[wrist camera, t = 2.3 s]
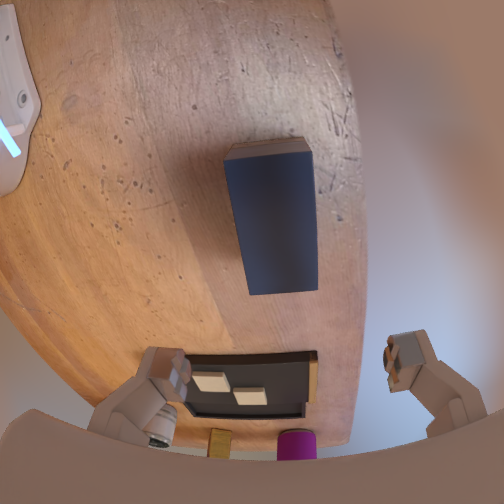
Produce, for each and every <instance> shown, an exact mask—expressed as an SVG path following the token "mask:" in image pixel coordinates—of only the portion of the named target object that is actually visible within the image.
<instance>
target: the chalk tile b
mask: <svg viewBox="0 0 504 504" xmlns="http://www.w3.org/2000/svg"><path fill="white" fill-rule="evenodd" d="M233 393H234V395H235V398H236V400H237V402H238V404H239V405H267V398H266V394H265V390H264V387H252V388H234V389H233Z"/></svg>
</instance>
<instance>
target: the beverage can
mask: <svg viewBox="0 0 504 504" xmlns="http://www.w3.org/2000/svg"><path fill="white" fill-rule="evenodd" d="M316 454H317V453H316V436H315V434H314V433H312V432H311V431H309V430H303V429H296V430H289V431H285V432H283V433H282V434H281V435H280V436H279V437H278V442H277V461H286V460H308V459H317V455H316Z"/></svg>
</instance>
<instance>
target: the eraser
mask: <svg viewBox="0 0 504 504" xmlns="http://www.w3.org/2000/svg"><path fill="white" fill-rule="evenodd" d="M223 164H224V170H225V175H226V180H227V185H228V190H229V195H230V200H231V205H232V210H233V215H234V220H235V225H236V230H237V235H238V240H239V245H240V250H241V255H242V260H243V265H244V270H245V275H246V280H247V285H248V289H249V294H250V295H264V294H278V293H291V292H303V291H314V290H318V246H317V218H316V197H315V181H314V167H313V154H312V151H311V149H310V147H309V145H308V144H307V142H306V140H305V138H304V137H294V138H283V139H273V140H264V141H256V142H248V143H241V144H234V145H233V146H232V147H231V149H230V151H229V152H228V154H227V156H226V157H225V159H224V160H223Z"/></svg>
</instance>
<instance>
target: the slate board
mask: <svg viewBox="0 0 504 504" xmlns="http://www.w3.org/2000/svg"><path fill="white" fill-rule="evenodd" d="M185 358H187V359H188V360H189V361H190V363H191V367H192V374H193V371H202V372H224V374H225V376H226V378H227V381H228V383H229V385H230V392H209V391H201V390H200V389H199V387H198V385H197V384H196V382H195V380H194V379H193V377H192V375H191V380H190V381H189V382H188V383H187V384H186V386H187V388H188V392H187V396H186V399H185V402H197V403H214V404H238V402H237V400H236V398H235V395H234V393H233V389H234V388H252V387H264V390H265V394H266V398H267V404H284V403H301V402H308V403H309V404H311V403H315V402H316V389H317V374H318V356H317V351H309V352H297V353H282V354H262V355H185ZM171 402H173V401H171Z"/></svg>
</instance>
